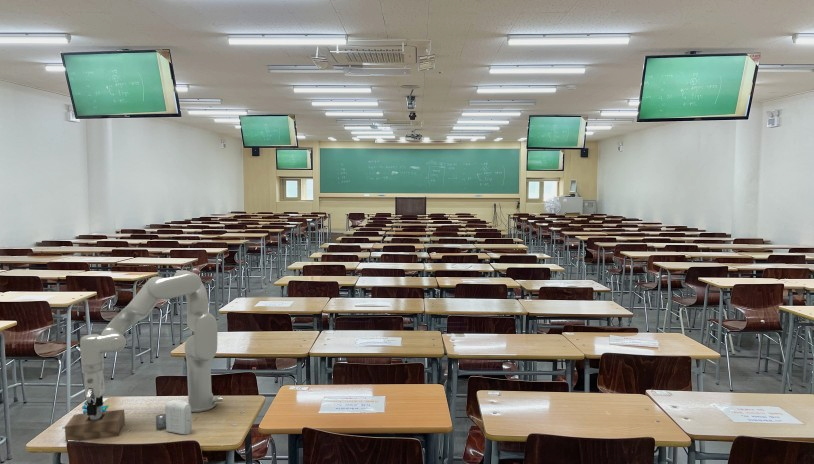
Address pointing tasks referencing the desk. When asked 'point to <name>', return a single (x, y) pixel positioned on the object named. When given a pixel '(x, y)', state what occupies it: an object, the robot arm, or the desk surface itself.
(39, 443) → the desk surface
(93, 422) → the hole block
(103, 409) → the gear
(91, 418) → the long pin
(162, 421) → the short pin
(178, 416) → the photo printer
